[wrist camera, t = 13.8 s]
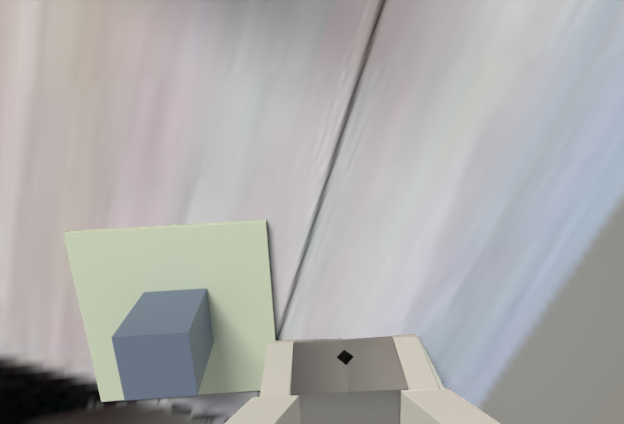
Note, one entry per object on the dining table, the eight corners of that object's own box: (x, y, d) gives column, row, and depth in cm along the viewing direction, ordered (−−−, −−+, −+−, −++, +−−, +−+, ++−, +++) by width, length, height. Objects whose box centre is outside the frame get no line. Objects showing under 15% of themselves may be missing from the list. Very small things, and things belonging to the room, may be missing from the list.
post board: (266, 219, 35) (261, 244, 29) (279, 383, 39) (277, 432, 34) (68, 231, 34) (24, 259, 28) (105, 395, 39) (73, 447, 33)
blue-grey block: (206, 288, 35) (188, 332, 29) (213, 342, 37) (197, 395, 30) (143, 292, 35) (111, 337, 29) (153, 346, 36) (124, 400, 30)
